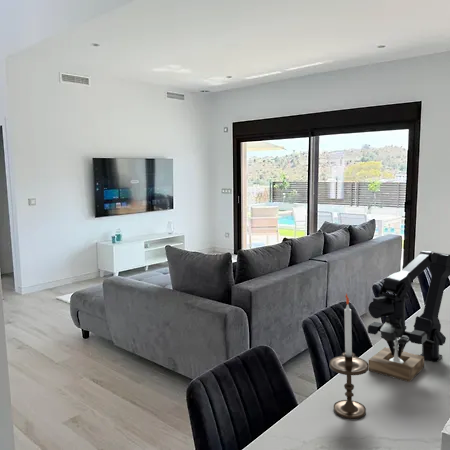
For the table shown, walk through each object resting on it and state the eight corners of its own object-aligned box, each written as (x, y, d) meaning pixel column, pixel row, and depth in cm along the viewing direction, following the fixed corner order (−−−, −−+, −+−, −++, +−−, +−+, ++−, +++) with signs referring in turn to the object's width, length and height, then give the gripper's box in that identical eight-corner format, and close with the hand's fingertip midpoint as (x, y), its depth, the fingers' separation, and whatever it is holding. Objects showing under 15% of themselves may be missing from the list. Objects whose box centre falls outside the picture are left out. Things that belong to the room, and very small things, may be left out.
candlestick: (327, 401, 129) (324, 289, 126) (362, 400, 129) (361, 288, 125) (335, 421, 118) (332, 299, 115) (374, 420, 118) (372, 298, 114)
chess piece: (405, 366, 146) (405, 338, 145) (390, 365, 147) (390, 337, 146) (402, 360, 150) (402, 333, 149) (387, 359, 151) (387, 332, 150)
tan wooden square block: (384, 357, 159) (384, 347, 158) (424, 367, 149) (424, 356, 149) (368, 370, 149) (368, 359, 148) (409, 382, 139) (409, 370, 139)
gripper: (360, 314, 147) (360, 357, 149) (415, 324, 135) (415, 371, 136) (373, 306, 155) (374, 347, 157) (427, 315, 143) (427, 359, 144)
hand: (396, 355), depth 148 cm, fingers closed on chess piece
